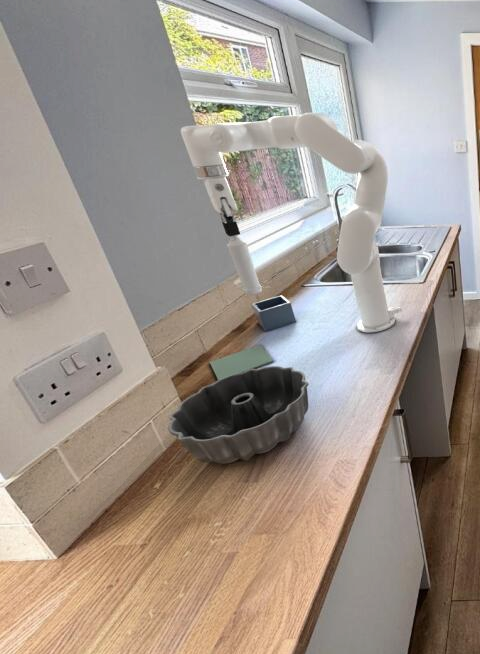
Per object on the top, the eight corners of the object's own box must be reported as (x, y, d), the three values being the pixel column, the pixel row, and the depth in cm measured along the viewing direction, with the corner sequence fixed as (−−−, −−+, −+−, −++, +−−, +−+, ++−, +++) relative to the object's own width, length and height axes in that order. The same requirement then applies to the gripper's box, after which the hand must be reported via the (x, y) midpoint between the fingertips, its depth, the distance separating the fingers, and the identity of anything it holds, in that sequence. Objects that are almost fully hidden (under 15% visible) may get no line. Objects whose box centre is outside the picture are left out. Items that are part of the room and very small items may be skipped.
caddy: (287, 313, 153) (281, 295, 150) (296, 321, 146) (290, 302, 143) (258, 322, 147) (251, 303, 143) (265, 331, 140) (258, 311, 137)
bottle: (249, 289, 134) (223, 215, 124) (265, 288, 135) (240, 214, 124) (241, 296, 130) (213, 218, 119) (257, 294, 130) (230, 217, 119)
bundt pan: (294, 384, 110) (284, 353, 106) (336, 428, 93) (326, 393, 89) (176, 436, 93) (158, 401, 89) (201, 502, 76) (180, 463, 72)
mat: (260, 345, 131) (260, 344, 131) (273, 361, 121) (273, 360, 121) (209, 363, 122) (209, 362, 122) (219, 382, 113) (218, 380, 113)
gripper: (231, 172, 113) (253, 236, 121) (221, 169, 124) (241, 228, 132) (199, 175, 109) (223, 241, 116) (192, 172, 120) (214, 233, 127)
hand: (233, 234), depth 124 cm, fingers closed on bottle, 2 cm apart
